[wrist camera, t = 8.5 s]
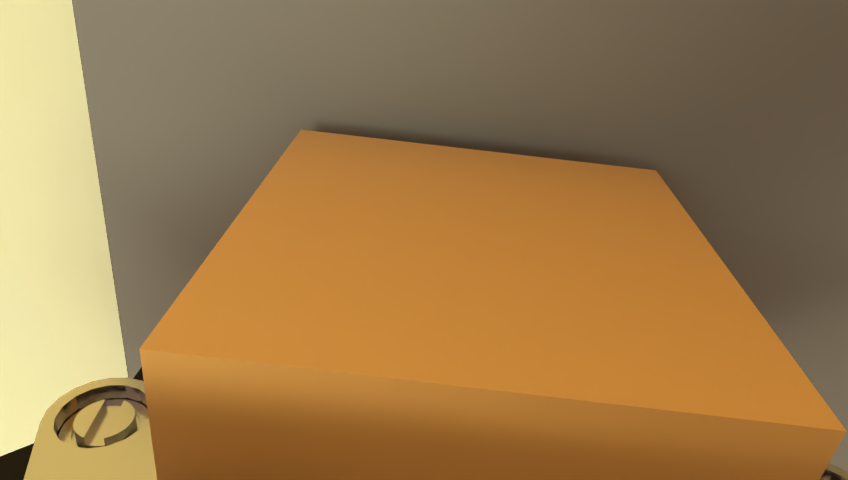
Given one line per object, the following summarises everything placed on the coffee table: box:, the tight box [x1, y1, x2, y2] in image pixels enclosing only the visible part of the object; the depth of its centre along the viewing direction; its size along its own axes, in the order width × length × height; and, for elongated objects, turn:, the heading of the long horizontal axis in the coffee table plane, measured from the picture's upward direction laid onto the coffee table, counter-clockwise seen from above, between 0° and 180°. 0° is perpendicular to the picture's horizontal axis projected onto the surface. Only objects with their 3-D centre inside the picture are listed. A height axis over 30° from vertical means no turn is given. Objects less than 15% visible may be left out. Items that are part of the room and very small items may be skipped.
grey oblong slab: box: [72, 0, 848, 472], centre depth 13 cm, size 20×14×2 cm
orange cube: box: [139, 130, 847, 480], centre depth 9 cm, size 6×6×6 cm
